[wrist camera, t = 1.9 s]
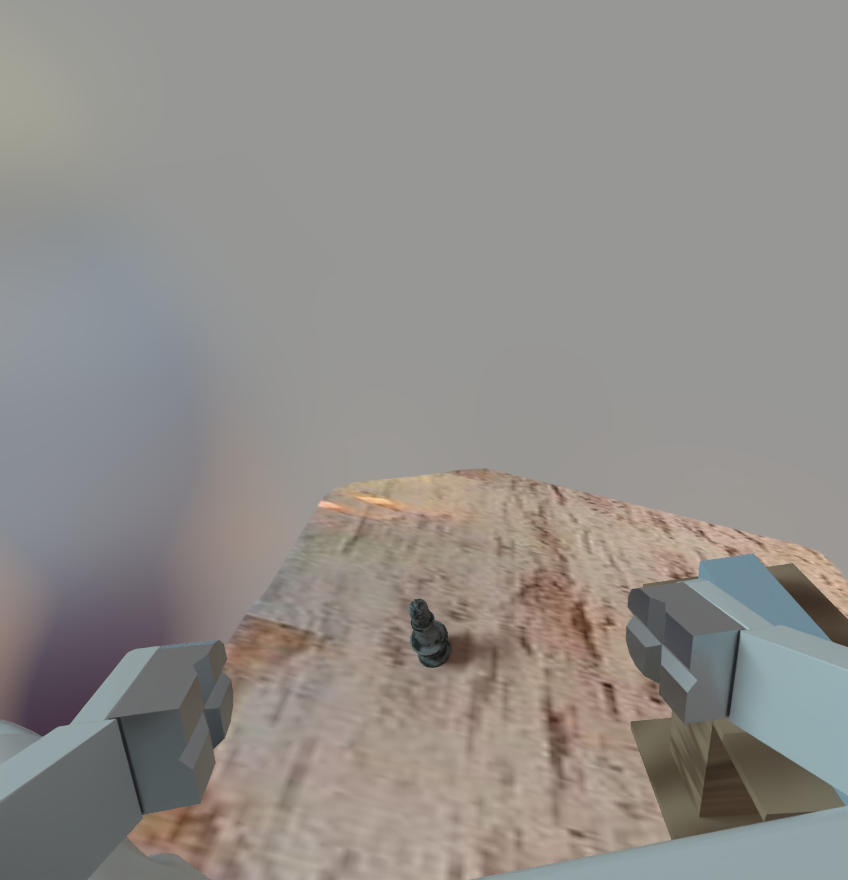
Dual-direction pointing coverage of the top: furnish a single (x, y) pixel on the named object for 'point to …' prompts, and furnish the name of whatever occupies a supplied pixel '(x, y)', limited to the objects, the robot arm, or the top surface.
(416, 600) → the dark chess piece
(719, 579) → the batten
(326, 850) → the top surface
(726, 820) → the shelf stand
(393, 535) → the top surface
